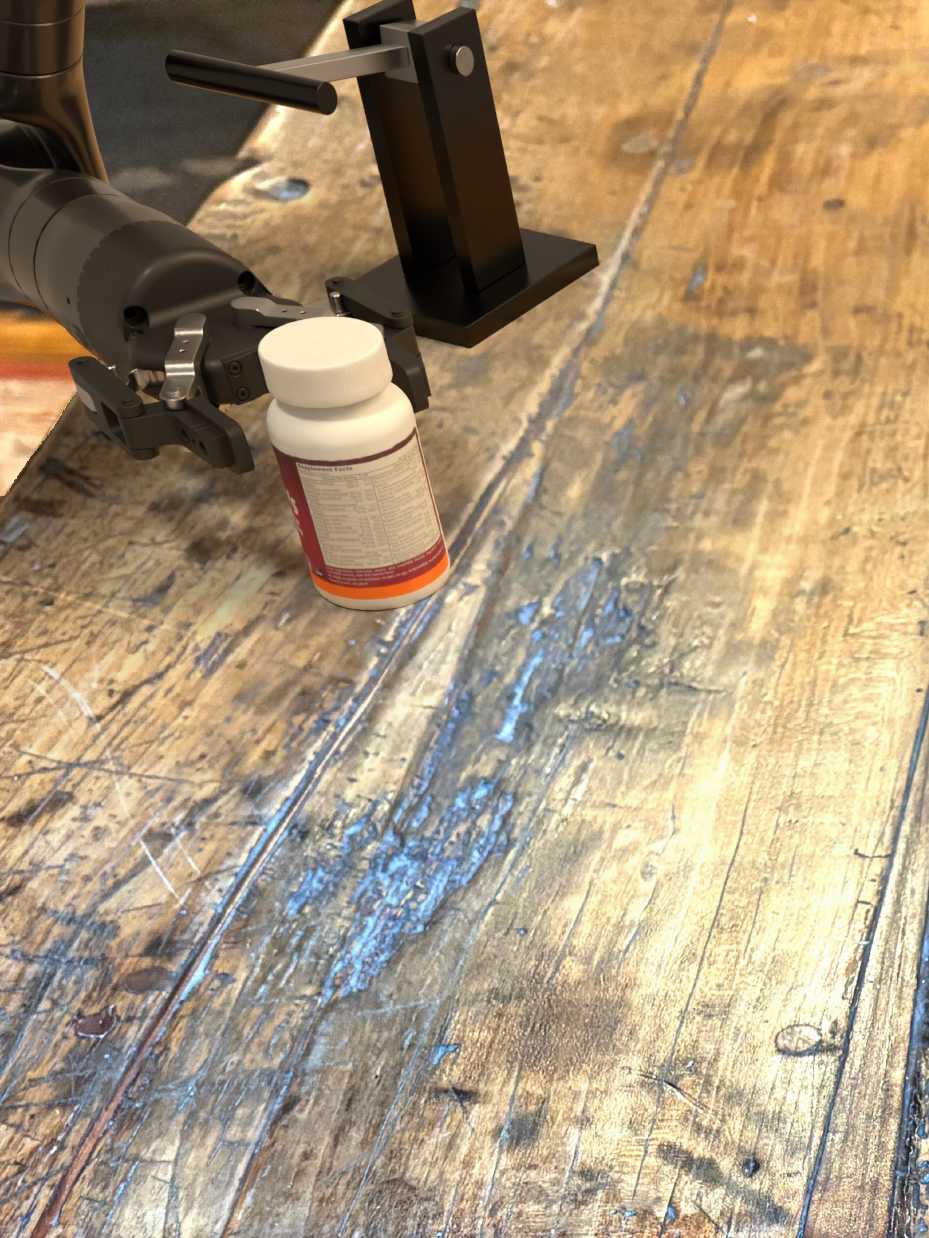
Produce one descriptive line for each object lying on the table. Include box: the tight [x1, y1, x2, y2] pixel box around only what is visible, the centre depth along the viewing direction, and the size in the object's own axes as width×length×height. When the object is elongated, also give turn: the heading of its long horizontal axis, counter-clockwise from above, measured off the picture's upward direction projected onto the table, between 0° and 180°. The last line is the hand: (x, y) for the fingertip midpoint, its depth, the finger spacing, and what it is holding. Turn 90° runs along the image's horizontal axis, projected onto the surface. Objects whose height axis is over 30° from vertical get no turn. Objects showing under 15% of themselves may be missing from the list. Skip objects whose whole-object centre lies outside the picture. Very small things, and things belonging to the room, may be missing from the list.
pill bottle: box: [258, 317, 451, 611], centre depth 98 cm, size 6×6×11 cm
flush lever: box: [164, 18, 428, 116], centre depth 110 cm, size 14×9×2 cm, turn 157°
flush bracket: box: [341, 0, 600, 349], centre depth 118 cm, size 12×9×14 cm
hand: (333, 421), depth 97 cm, fingers open, 8 cm apart
